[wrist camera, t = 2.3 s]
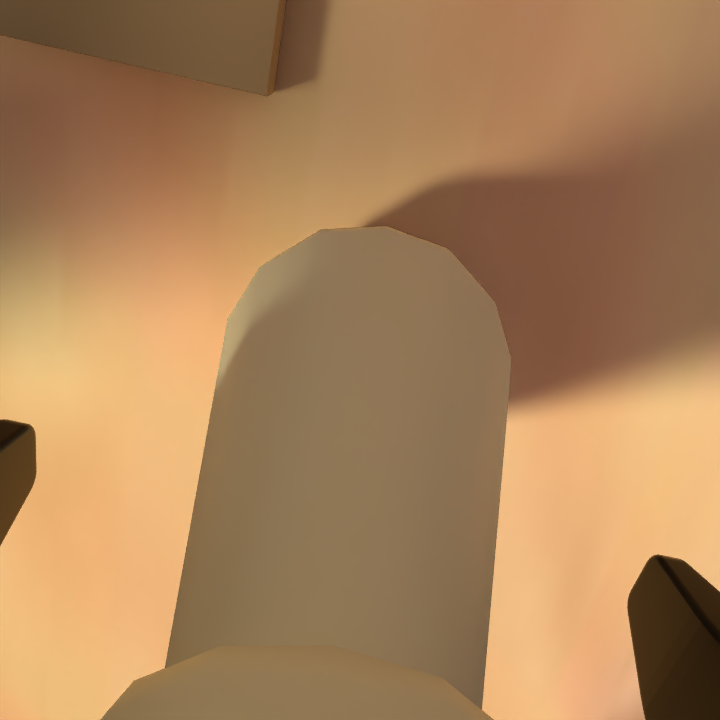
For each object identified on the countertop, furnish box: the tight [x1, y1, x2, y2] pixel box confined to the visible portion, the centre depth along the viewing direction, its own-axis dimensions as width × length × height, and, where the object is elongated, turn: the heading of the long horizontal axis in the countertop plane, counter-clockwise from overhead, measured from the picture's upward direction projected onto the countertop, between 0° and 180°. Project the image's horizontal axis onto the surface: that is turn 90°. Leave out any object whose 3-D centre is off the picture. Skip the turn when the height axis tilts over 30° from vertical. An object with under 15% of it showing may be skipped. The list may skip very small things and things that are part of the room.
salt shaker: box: [101, 226, 512, 720], centre depth 10 cm, size 6×6×13 cm
